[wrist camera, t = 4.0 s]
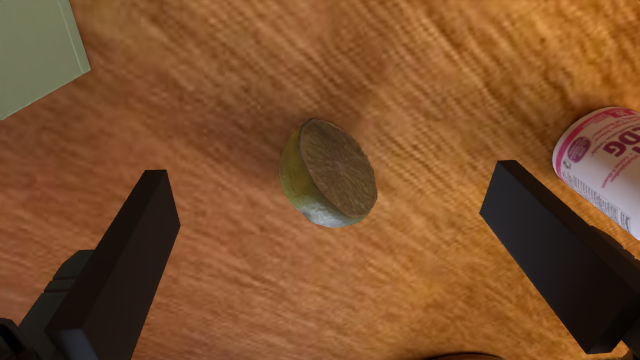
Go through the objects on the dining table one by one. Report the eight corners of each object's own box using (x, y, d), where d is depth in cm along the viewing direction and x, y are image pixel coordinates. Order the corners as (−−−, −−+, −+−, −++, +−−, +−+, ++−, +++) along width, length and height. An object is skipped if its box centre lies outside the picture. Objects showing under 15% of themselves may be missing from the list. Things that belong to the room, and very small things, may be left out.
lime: (282, 105, 17) (282, 154, 12) (379, 116, 17) (410, 165, 13) (274, 183, 19) (273, 247, 15) (360, 190, 20) (382, 253, 15)
